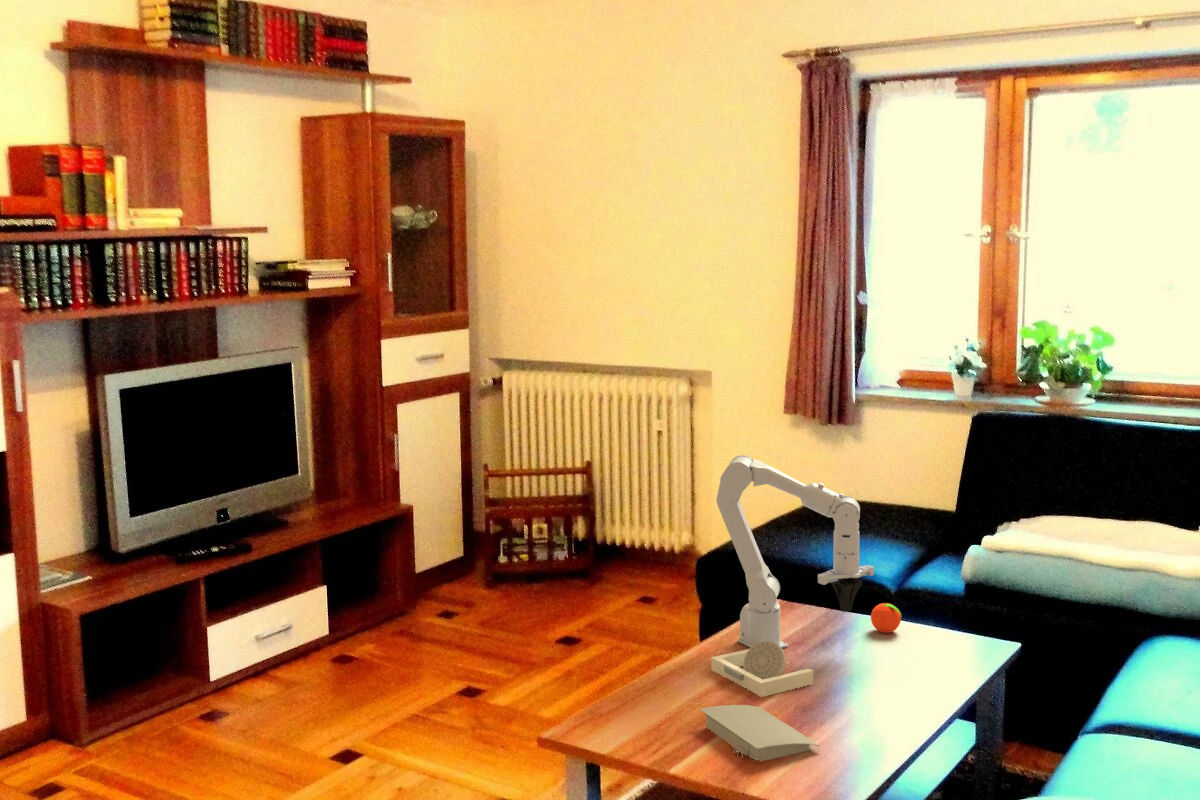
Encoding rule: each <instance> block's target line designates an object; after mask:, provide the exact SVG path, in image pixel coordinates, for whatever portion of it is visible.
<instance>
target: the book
mask: <svg viewBox="0 0 1200 800" xmlns="http://www.w3.org/2000/svg"><path fill="white" fill-rule="evenodd" d="M699 711H700V712H702V713H704V714H705V716H706V717H705V718H706V719H705V723H706V724H705V727H707V728H706V729H707V730H709V729H710V730H711V732H712V733H713V732H714V733H713V734H715V735H716V736H717V735H718V737H719V738H720V737H721V739H722V738H723V739H724V740H725V742H726V741H727V742H728V743H727V742H726V743H727V744H729V743H730V744H731V745H730V744H729V745H730V746H732V745H733V746H734V747H733V746H732V747H733V754H734V753H735V752H736V751H738V753H737V756H738V755H739V753H741V759H742V758H743V759H744V754H747V755H748V756H749V757H751V758H752V759H756V760H761V761H760V762H765V761H764V760H766V761H770V760H773V759H774V760H775V759H779V758H783V757H787V756H791V754H792V755H795V754H796V755H797V754H799V753H805V752H808V751H810V746H815V747H821V745H820V744H819V743H817V742H815V741H814V740H812V739H811V738H809V737H808V736H806V735H804V734H802V733H801V732H800V731H798V730H796V729H795V728H793V727H792V726H790V725H788V724H787V723H786V722H784V721H782V720H781V719H780V718H777V717H776V716H774V715H772V713H769V712H768V711H766V710H765V709H764V708H762V707H761V706H755V705H749V704H727V705H726V704H725V705H716V706H709V707H702V708H700V709H699ZM710 730H709V731H710ZM723 739H722V740H723ZM724 740H723V741H724ZM743 753H744V754H743ZM735 754H736V753H735ZM751 758H750V759H751ZM752 759H751V760H752Z"/></svg>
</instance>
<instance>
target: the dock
mask: <svg viewBox="0 0 1200 800" xmlns="http://www.w3.org/2000/svg"><path fill="white" fill-rule="evenodd" d="M749 649H750V648H747V649H742V650H738V651H733V652H730V653H723V654H720V655H715V656H711V657H710V658H711V661H710V662H711V665H710V666H711V667H710V668H711V670H713V671H715V672H716V673H715V672H714V673H715V674H717V673H718V674H717V675H719V674H720V675H719V676H721V675H722V676H721V677H723V676H724V677H726V678H728V679H730V680H732V681H734V682H735V683H734V682H733V683H734V684H736V683H737V684H739V685H741V686H742V687H741V686H740V687H741V688H743V687H744V688H743V689H745V688H747V689H748V690H747V689H746V690H747V691H749V690H750V691H752V692H753V693H752V692H751V693H752V694H754V693H755V694H754V695H756V694H757V695H756V696H758V697H760V698H764V697H768V696H771V695H772V696H773V695H775V694H776V695H777V694H780V693H783V692H787V690H788V691H792V689H793V690H796V689H795V688H797V689H801V688H804V687H803V686H805V687H808V686H807V685H809V686H813V685H814V670H812V669H810V668H806V669H801V670H797V671H794V672H789V673H784V674H782V675H780V676H775V677H771V678H767V679H763V680H762V679H761V678H759V677H757V676H755V675H753V674H751V673H749V672H747V671H745V670H744V668H741V666H742V667H744V666H743V664H744V658H745V655H746V653H747V652H748V650H749ZM713 671H712V672H713ZM724 677H723V678H724ZM726 678H725V679H726ZM728 679H727V680H728ZM730 680H729V681H730ZM732 681H731V682H732ZM737 684H736V685H737ZM812 684H813V685H812ZM739 685H738V686H739ZM800 687H801V688H800ZM750 691H749V692H750ZM763 696H764V697H763Z"/></svg>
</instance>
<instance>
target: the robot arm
mask: <svg viewBox="0 0 1200 800" xmlns="http://www.w3.org/2000/svg"><path fill="white" fill-rule="evenodd" d="M752 482H753V485H752V487H759V486H763V485H768V486H771V487H773V488H775V489H778V490H780V491H783V492H785V493H787V494H790V495H792V496H794V497H797V498H799V499H800V501H801V503H802V506H803V507H806V508H808V509H810V510H812V511H814V512H816V513H817V514H820V515H822V516H825V517H826V518H832V519H833V522H834V530H833V547H832V549H833V551H832V554H833V556H832V557H833V559H832V560H833V561H832V562H833V569H830V570H827V571H825V572H822V573H818V574H817V583H818V584H820V585H823V586H825V585H827V584H829V583H830V584H831V585H832V587H833V589H834V591H835V593H836V597H837V600H838V602H839V603H838V604H839V607H840V610H841V611H843V612H847V613H848V612H850V611H852V608H853V604H854V601H855V598H856V595H857V593H858V591H859V590H860V588H861V586H862V584H863V583H862V579H859V578H861V577H865V576H874V575H875V567H874V566H873V565H870V564H867V565H866V564H865V565H860V523H859V521H860V517H861V516H860V514H861V506H860V503H858V501H857V500H856V499H854V498H853V497H852V496H850V495H844V494H845V493H842V492H840V493H838V492H835V491H832V490H831V489H828V488H826V487H825V484H824V483H822V482H819V483H816V482H811V483H808V484H805V483H803V482H801V481H800V480H797V479H796V478H794V477H792V476H790V475H788V474H786V473H784V472H783V471H780V470H778V469H776V468H775V467H773V466H771V465H769V464H767V463H765V462H763V461H761V460H758V459H755V458H754V459H753V458H751V457H750V456H749V455H746V454H740V455H737V456H734V458H732V460H731V461H730V462H729V464H728V465H727V467H726V468H725V469H724V471H723V473H722V474H721V476H720V479H719V486H718V491H717V495H716V496H717V497H716V505H717V507H718V510H719V511H720V514H721V518H722V520H723V522H724V525H725V527H726V529H727V532H728V534H729V537H730V539H731V543H732V544H733V546H734V549H735V551H736V554H737V556H738V559H739V562H740V564H741V567H742V569H743V571H744V573H745V576H744V577H745V582H746V586H747V588H748V603H746V604H745V605H744V606H743V607H742V609H741V611H740V613H739V638H736V641H737V642H738V643H740V644H742V645H744V646H746V647H749V649H750V648H751V647H752V646H753V645H754V644H756V643H758V642H760V641H765V640H768V641H773V642H775V643H776V644H778V645H779V646H780V647H781V648H782V649H783V648H786V647H789V644H788V643H786V642H784V641H782V640H781V604H779V602H778V600H777V599H778V598H777V597H778V595H779V594H780V591H781V585H780V582H779V580H778V578H776V577H775V576H774V575H773V574H772V573H771V571H770V570H771V569H769V566H768V565H766V563H765V561H764V559H763V557H762V554H761V551H760V549H759V546H758V544H757V541H756V540H755V537H754V534H753V531H752V529H751V526H750V524H749V522H748V520H747V519H748V518H747V517H746V514H745V512H744V509H743V507H742V504H741V502H740V500H741V498H742V495H743V493H744V491H745V490H746V489H747V488H748V487H749V486H750V485H751V483H752Z"/></svg>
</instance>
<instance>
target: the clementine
mask: <svg viewBox="0 0 1200 800" xmlns="http://www.w3.org/2000/svg"><path fill="white" fill-rule="evenodd" d="M902 618H903V615H902V613H901V611H900V610H899V608H897V607H896V606H895V605H893V604H891V603H888V602H883V603H879V604H877V605H875V606H874V608H873V609H872V611H871V614H870V622H871V624H872V626H873V627H874V629H876V631H879V632H880V633H884V634H888V633H889V634H890V633H892V632H895V631H896V630H897V628H899V627H900V624H901V620H902Z"/></svg>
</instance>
